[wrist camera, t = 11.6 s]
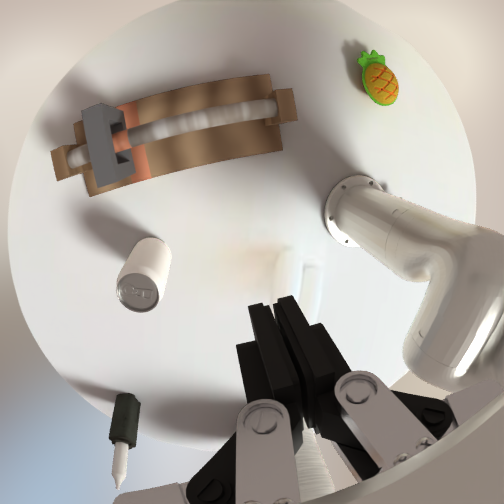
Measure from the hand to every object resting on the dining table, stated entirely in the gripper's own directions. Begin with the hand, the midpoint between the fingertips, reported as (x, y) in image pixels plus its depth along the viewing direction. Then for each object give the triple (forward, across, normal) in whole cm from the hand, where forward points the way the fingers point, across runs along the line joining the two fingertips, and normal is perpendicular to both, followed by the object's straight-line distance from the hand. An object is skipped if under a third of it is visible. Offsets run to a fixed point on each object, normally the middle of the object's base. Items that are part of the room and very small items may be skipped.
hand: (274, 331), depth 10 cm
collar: (+30, +12, -10) cm, 34 cm away
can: (+33, +13, +8) cm, 37 cm away
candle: (+33, +33, +42) cm, 63 cm away
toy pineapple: (+33, -28, -15) cm, 46 cm away
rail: (+33, +5, -10) cm, 35 cm away
